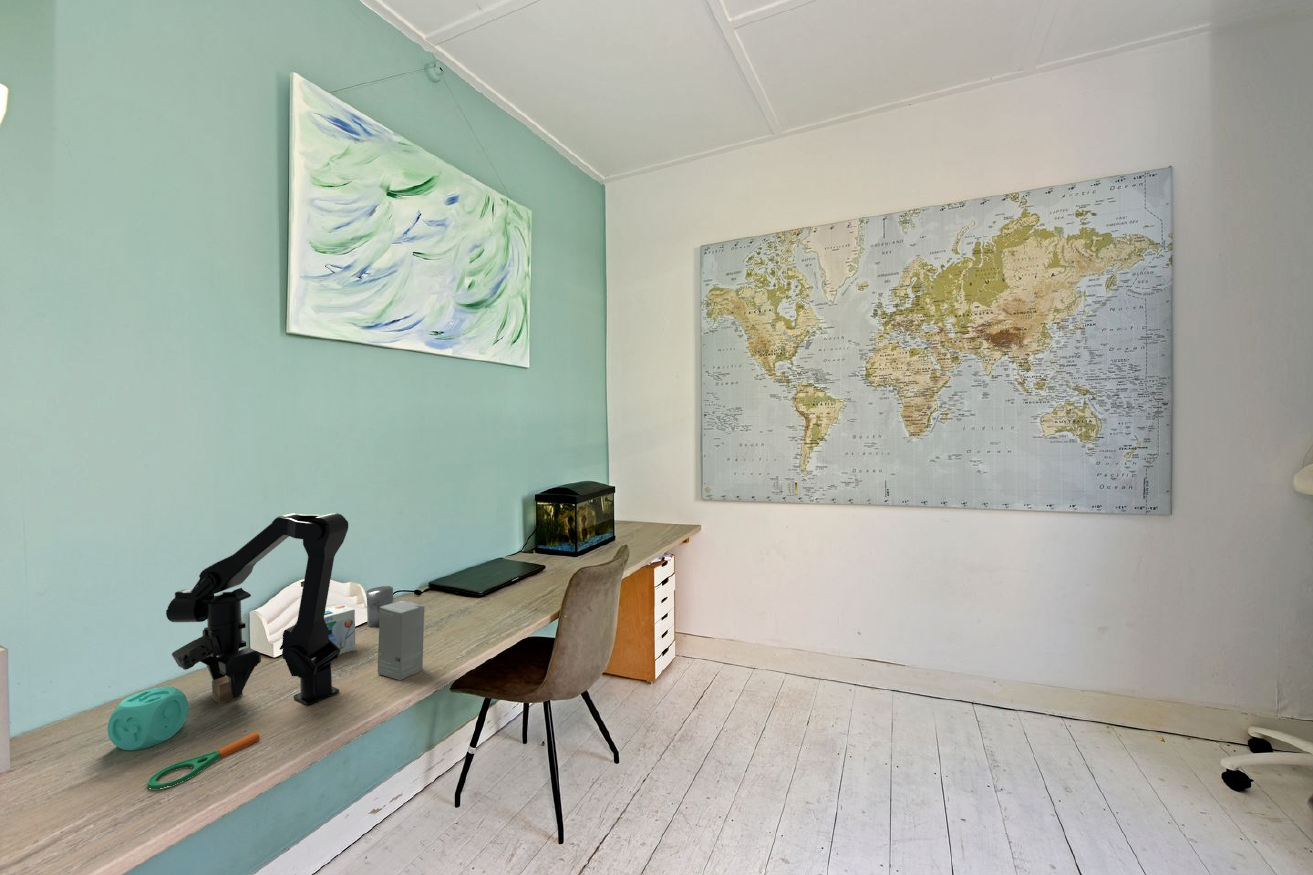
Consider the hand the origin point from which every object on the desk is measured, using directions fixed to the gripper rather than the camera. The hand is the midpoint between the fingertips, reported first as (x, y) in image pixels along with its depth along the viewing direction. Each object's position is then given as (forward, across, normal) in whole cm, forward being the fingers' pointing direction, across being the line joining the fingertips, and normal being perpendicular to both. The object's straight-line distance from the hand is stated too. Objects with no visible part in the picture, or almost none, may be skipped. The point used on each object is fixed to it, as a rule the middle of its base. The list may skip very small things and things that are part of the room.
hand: (227, 691), depth 114 cm
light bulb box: (+1, -4, +23) cm, 23 cm away
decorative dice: (+1, +6, -14) cm, 15 cm away
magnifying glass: (+2, +25, -12) cm, 28 cm away
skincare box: (+1, +23, +26) cm, 35 cm away
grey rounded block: (+1, -13, +42) cm, 44 cm away
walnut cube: (+1, 0, 0) cm, 1 cm away
